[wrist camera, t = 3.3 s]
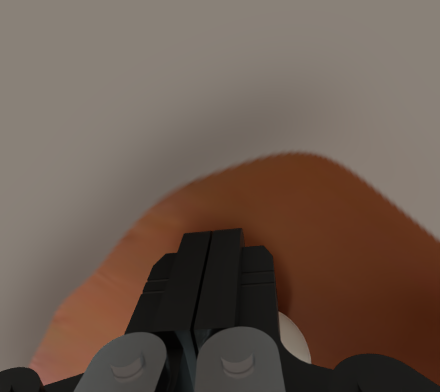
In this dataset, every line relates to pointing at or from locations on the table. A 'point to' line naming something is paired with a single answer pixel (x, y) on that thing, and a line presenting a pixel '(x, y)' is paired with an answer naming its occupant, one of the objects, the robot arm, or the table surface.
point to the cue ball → (293, 339)
